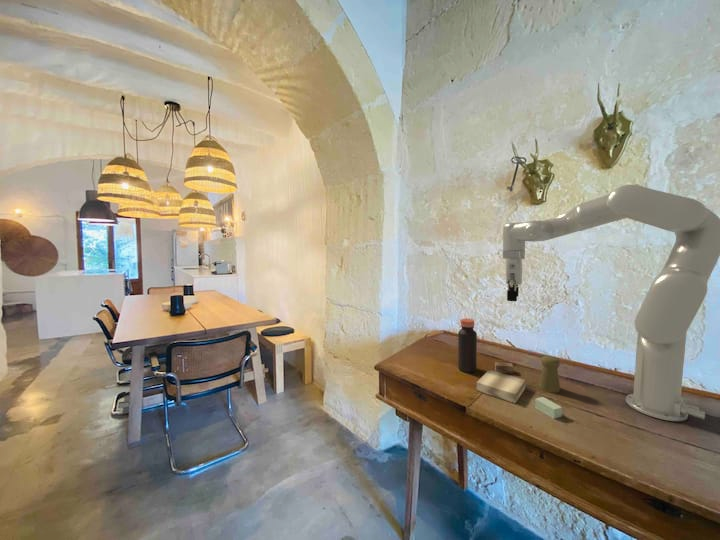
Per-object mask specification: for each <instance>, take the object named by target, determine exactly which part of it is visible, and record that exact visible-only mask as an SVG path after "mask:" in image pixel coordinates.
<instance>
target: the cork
mask: <svg viewBox="0 0 720 540" xmlns="http://www.w3.org/2000/svg"><path fill="white" fill-rule="evenodd" d="M540 362H541V365H542V369H541V375H540V378H539V383H538V388H539V389H540V390H542V391H545V392H547V393H551V394H552V393H553V394H558V393H560V392H561V388H560V387H561V386H560V378H559V370H558V368H559V367H560V365H561V363H560V360H559V358H557V357H556V356H553V355H544V356H542V357H541V359H540Z"/></svg>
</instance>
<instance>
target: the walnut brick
mask: <svg viewBox="0 0 720 540" xmlns="http://www.w3.org/2000/svg"><path fill="white" fill-rule="evenodd" d="M494 371H495V372H499V373H502V374H508V375H510V374H511V375H513V374H514V366H513V363H510V362H498V361H494Z"/></svg>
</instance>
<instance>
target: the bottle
mask: <svg viewBox="0 0 720 540" xmlns="http://www.w3.org/2000/svg"><path fill="white" fill-rule="evenodd" d="M460 327H461V329H460V330H459V331H458V332H457V333H458V335H457V336H458V339H457V341H458V345H457V346H458V349H457V351H458V353H457V356H458V357H457V358H458V359H457V360H458V361H457V362H458V363H457V365H458V369H459V371H461V372H463V373H468V374H472V373H475V372H477V361H478V360H477V359H478V358H477V355H478V352H477V351H478V349H477V347H478V345H477V343H478V341H477V339H478V338H477V337H478V335H477V332H476V330H475V329H474V328H475V320H474V319H472V318H461V319H460Z"/></svg>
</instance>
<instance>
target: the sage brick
mask: <svg viewBox="0 0 720 540" xmlns="http://www.w3.org/2000/svg"><path fill="white" fill-rule="evenodd" d="M534 408H535V409H537V410H538V411H541V412H542V413H544V414H545V415H547V416H548V417H549V418H552V419H558V418H562V415H563V414H562V413H563V407H562V406H560V405H559V404H557V403H555V402H553V401H552V400H550V399H548V398H546V397H544V396H540V397H536V398H535V401H534Z"/></svg>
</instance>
